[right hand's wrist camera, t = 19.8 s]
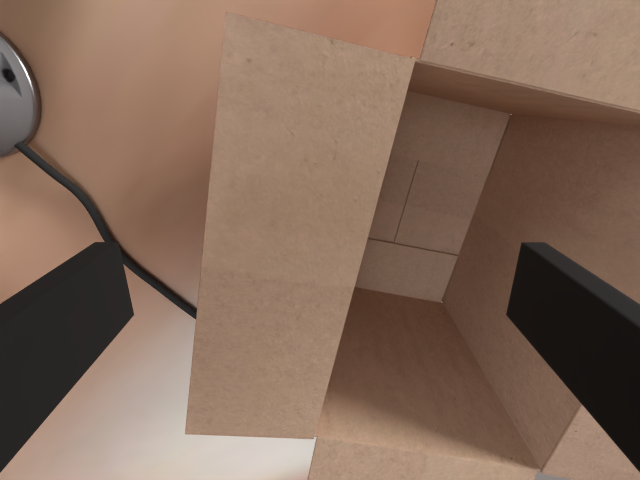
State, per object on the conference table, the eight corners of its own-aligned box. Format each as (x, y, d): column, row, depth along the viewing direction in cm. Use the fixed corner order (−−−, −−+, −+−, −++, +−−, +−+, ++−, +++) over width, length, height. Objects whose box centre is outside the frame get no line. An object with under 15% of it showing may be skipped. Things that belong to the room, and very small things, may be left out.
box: (478, 361, 56) (611, 584, 30) (243, 321, 53) (173, 528, 28) (619, 43, 40) (1131, -46, 15) (297, -36, 38) (250, -307, 12)
